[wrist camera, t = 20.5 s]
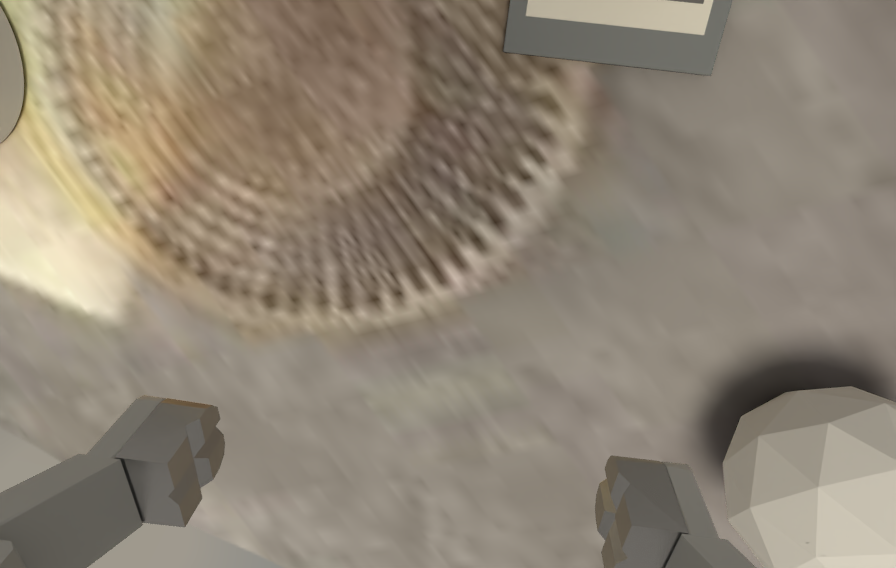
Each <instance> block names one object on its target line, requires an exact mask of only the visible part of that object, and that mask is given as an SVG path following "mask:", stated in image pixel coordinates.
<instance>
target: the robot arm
mask: <svg viewBox="0 0 896 568" xmlns="http://www.w3.org/2000/svg"><path fill="white" fill-rule="evenodd" d="M23 96H24V75H23V67H22V61H21V56H20V52H19V48H18V45H17V42H16V39H15V36H14V33H13V31H12V28H11V26H10V24H9V22H8V19H7V17H6V15H5V14H4V12H3V10H2V8H1V6H0V143H1V142H2V141H3V140H5V139H6V137H7V136H8V135H9V134H10V133H11V131H12V130H13V128H14V126H15V125H16V122H17V120H18V118H19V115H20V112H21V108H22V103H23ZM219 420H220V415H219V411H218V407H216V406H213V405H208V404H201V403H195V402H188V401H182V400H175V399H169V398H167V399H166V398H160V397H153V396H146V395H144V396H142V397H140V398H138V399H136V400H135V401H134V402H133V403H132V404H131V405H130V406H129V408H128V409H127V410H126V411H125V412H124V413H123V414H122V415H121V416H120V418H119V419H118V420H117V421H116V422H115V423H114V424H113V425H112V426H111V428H110V429H109V430H108V431H107V432H106V433H105V434H104V435H103V436H102V438H101V439H100V440H99V441H98V442H97V443H96V444H95V445H94V447H93V448H92V449H91V450H90V451H89V452H88V453H87V454H86V455H85V454H78V455H76V456H74V457H72V458H70V459H68V460H66V461H63V462H61V463H60V464H57V465H56V466H54V467H51V468H49V469H47V470H46V471H44V472H42V473H39V474H37V475H35V476H33V477H32V478H29V479H27V480H25V481H23V482H21V483H20V484H17V485H15V486H13V487H11V488H9V489H7V490H5V491H3V492H1V493H0V568H87V567H88V566H90V565H91V564H92V563H94V562H95V561H96V560H98V559H99V558H100V557H102V556H103V555H104V554H105V553H107V552H108V551H109V550H111V549H112V548H113V547H115V546H116V545H117V544H119V543H120V542H121V541H123V540H124V539H125V538H127V537H128V536H129V535H130V534H132V533H133V532H134V531H136V530H137V529H138V528H140V527H141V526H142V525H143V524H142V523H150V524H160V525H169V526H179V527H185V526H186V525H187V523H188V521H189V520H190V518H191V516H192V515H193V513H194V511H195V510H196V508H197V506H198V505H199V503H200V501H201V500H202V494H201V489H200V488H201V487H203V486H204V485H206V484H207V483H209V482H210V481H212V480H213V479H214V477H215V476H216V474H217V472H218V470H219V468H220V466H221V463H222V459H223V456H224V449H225V441H224V435H223V434H222V433H221V432H220V430H219V429H218V428H217V427H216V425H217V423H218V422H219ZM605 472H606V477H607V479H605V480H604V481H602V482H601V483H600V484H599V487H598V491H597V494H596V504H595V515H596V524H597V530H598V532H599V533H600V534H601V536H602V537H603V538H604V539H605V543H604V546H603V549H602V551H601V553H602V559H603V564H604V568H756V567H755V566H754V565H753V564H752V563H751V562H750V561H749V560H748V559H747V558H746V557H745V556H744V555H743V554H742V553H741V552H740V551H738V550H737V549H736V548H735V547H734V546H733V545H732V544H731V543H730V542H729V541H728V540H725V539H719V536H718V534H717V531H716V529H715V526H714V524H713V521H712V519H711V516H710V514H709V511H708V509H707V506H706V504H705V501H704V499H703V496H702V494H701V491H700V489H699V486H698V484H697V481H696V479H695V476H694V474H693V471H692V469H691V468H690V467H689V466H688V465H687V464H678V463H670V462H660V461H654V460H646V459H637V458H628V457H620V456H610V458H609V459H608V461H607V463H606V466H605Z"/></svg>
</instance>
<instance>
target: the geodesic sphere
mask: <svg viewBox="0 0 896 568" xmlns="http://www.w3.org/2000/svg"><path fill="white" fill-rule="evenodd" d="M723 475H724V486H725V497H726V508H727V519H728V521H729V522H730V523H731V525H732V526H733V527H734V529H735V530H736V531H737V533H738V534H739V535H740V537H741V538H742V539H743V541H744V542H745V543H746V544H747V546H748V547H749V548H750V550H751V551H752V552H753V554H754V555H755V556H756V558H757V559H758V560H759V562H760V563H761V564H762V565H763V567H764V568H896V402H894V401H891V400H888V399H885V398H883V397H880V396H877V395H874V394H872V393H869V392H866V391H863V390H860V389H858V388H855V387H852V386H848V387H836V388H824V389H812V390H800V391H792V392H785V393H783V394H781V395H779V396H778V397H776V398H774V399H772V400H770V401H768V402H766V403H765V404H763V405H761V406H759V407H757V408H755V409H753V410H752V411H750V412H748V413H746V414H744V415H742V416H741V418H740V420H739V423H738V425H737V428H736V430H735V433H734V435H733V438H732V441H731V443H730V446H729V448H728V451H727V453H726V456H725V458H724V461H723Z"/></svg>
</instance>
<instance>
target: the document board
mask: <svg viewBox="0 0 896 568" xmlns="http://www.w3.org/2000/svg"><path fill="white" fill-rule="evenodd" d="M731 3H732V0H510V7H509V14H508V21H507V29H506V36H505V43H504V51H503V52H506V53H515V54H524V55H532V56H541V57H550V58H558V59H567V60H576V61H585V62H593V63H602V64H611V65H619V66H628V67H637V68H646V69H654V70H663V71H672V72H680V73H689V74H698V75H708V76H711V74H712V70H713V67H714V63H715V60H716V56H717V53H718V49H719V46H720V42H721V38H722V35H723V31H724V28H725V24H726V21H727V17H728V14H729V10H730V7H731Z"/></svg>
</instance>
